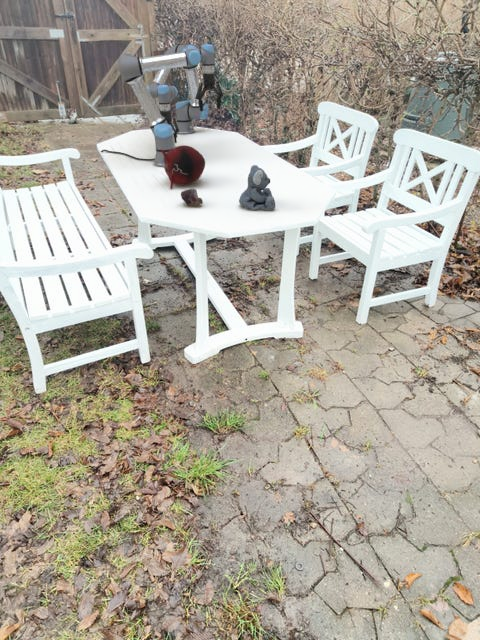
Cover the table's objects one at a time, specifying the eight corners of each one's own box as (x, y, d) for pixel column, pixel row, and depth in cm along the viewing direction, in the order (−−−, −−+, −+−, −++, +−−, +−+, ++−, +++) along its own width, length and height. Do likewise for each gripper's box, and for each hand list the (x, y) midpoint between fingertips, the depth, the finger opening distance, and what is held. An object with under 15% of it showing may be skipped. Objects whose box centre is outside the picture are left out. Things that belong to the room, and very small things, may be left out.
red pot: (163, 151, 265) (157, 149, 242) (201, 142, 264) (199, 140, 241) (172, 187, 272) (167, 189, 248) (209, 179, 271) (208, 180, 248)
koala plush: (276, 211, 223) (277, 171, 212) (240, 212, 222) (240, 172, 211) (271, 199, 237) (272, 161, 226) (237, 200, 236) (237, 162, 225)
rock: (196, 202, 238) (178, 205, 233) (194, 185, 234) (176, 188, 230) (205, 205, 228) (187, 208, 224) (203, 188, 224) (185, 191, 220)
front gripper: (195, 75, 274) (197, 112, 286) (228, 72, 286) (228, 108, 298) (188, 74, 279) (191, 111, 291) (221, 71, 291) (222, 106, 303)
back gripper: (152, 113, 300) (156, 147, 312) (182, 109, 311) (185, 142, 324) (147, 111, 305) (151, 145, 317) (177, 107, 316) (179, 140, 329)
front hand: (210, 109), depth 294 cm, fingers open, 13 cm apart
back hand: (168, 143), depth 321 cm, fingers open, 11 cm apart
